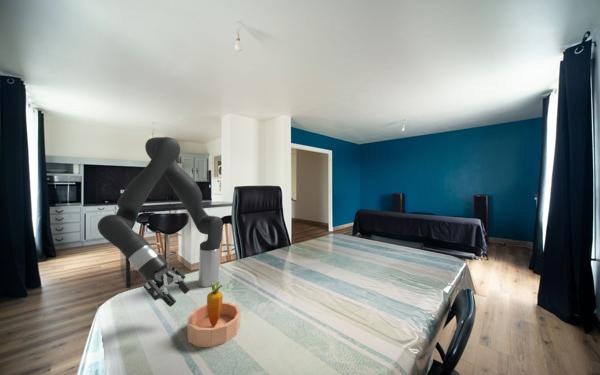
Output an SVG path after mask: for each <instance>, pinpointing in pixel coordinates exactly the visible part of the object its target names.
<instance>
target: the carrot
mask: <svg viewBox="0 0 600 375" xmlns="http://www.w3.org/2000/svg"><path fill="white" fill-rule="evenodd" d="M220 282H221V281H220V280H218V282H217V284H216V285H215V284H214V283H212V284H211V286H210V287H211V290H212V291H211V292H209V293H208V294H207V296H206V304H207V310H208V316H209V321H210V323H211V325H212V326H213V327H214V326H215V325H216V324H217V322H218V320H219V317H220V313H221V309H222V302H223V294H222V291H220V288H222V287H223V284H220ZM215 286H216V287H215Z"/></svg>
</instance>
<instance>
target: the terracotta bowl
mask: <svg viewBox="0 0 600 375" xmlns="http://www.w3.org/2000/svg"><path fill="white" fill-rule="evenodd" d="M241 312H242V311H241V310H240V308H239V306H238V305H236V304H234V303H232V302H230V301H228V302H225V301H222V309H221V313H220V317H219V320H218V322H217V324H216V325H215V326H214V327H213V326H212V325H211V323H210V321H209V316H208V310H207V303H206V304H204V305H202V306H200V307H198V308H196V309H194V310H193V311H192V312H191V313H190V314H189V315H188V317H187V326H186V327H187V328H186V329H187V332H186V336H187V337H186V338H187V342H188V343H190V344H192V345H193V346H195V347H199V348H212V347H216V346H219V345H222V344H226V343H227V342H229V341H231V339H233V338H234V337H235V336H237V334H238V332H239V330H240V327H241V314H242V313H241Z"/></svg>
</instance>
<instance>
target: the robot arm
mask: <svg viewBox="0 0 600 375" xmlns="http://www.w3.org/2000/svg"><path fill="white" fill-rule="evenodd" d="M145 152H146V154H147V156H148V157H149V158H150V161H149V162H148V164H147V165H146V167H144V168H143V170H141V172H140V173H138V175H137V176H135V177H133V179H132V180H131V181H130V182H129V183H128V185H127V186H126V187H125V189H124V190H123V192H122V193H121V195H120V197H118V200H117V202H116V206H117V207H118V209H117V212H116V214H108V215H104V216H103V217H102V218H100V219H99V221H98V223H97V230H98V232H99V234H100V235H101V236H102V237H103V238H104V239H106V240H107V241H108V242H109V243H110V244H112V245H113V246H114V247H115V248H116V249H118V250H119V251H120V252H121V253H122V254H123V256H124V257H125V258H126V259H127V260H128V261H129V262H130V264H131V266H132V267H133V268H134V270H136V272H138V273H139V275H140V276H141V277H142V278H143V279H144V281H147V282H146V283H145V284H144V285H143V288H144V290H145V291H147V294H149V296H150V297H151V298H152V300H154V301H157V300H159V299H160V300H162V301H163V302H164V303H165V304H166V305H167V306H168V307H173V306H174V304H176V303H177V300H176V299H175V297H174V296H172V295H171V293H170V292H168V287H169V285H174V286H177V288H178V289H179V290H180V291H181V292H182V293H183V294H184V295H185V294H187V293H188V292H189V291H190V290H191V288H190V287H189V285H187V283H186V282H185V279H186V275H185V274H184V273H183V272H182V271H181V270H180V269H179V268H178V267H177V266H176V265H173V266H172V267H171V268H168V265H169V263H168V261H167V260H166V259H165V258H164V257H163V256H162V255H161V254H160V253H159V252H158V250H156V248H154V247H153V246H152V245H151V244H150V243H149V242H148V241H147V240H146V239H145V238H144V237H143V236H142V235H141V234H140V233H137V232H135V231H134V230H133V228H134V226H135V225H136V222H137V219H138V217H139V214H140V210H141V209H142V207H143V205H144V204H145V202H146V200H147V198H148V196H149V195H150V194H151V192H152V191H153V189H154V187H155V186H156V184H157V183H158V182H159V180H160V179H161V178H162V176H164V178H165V179H166V180H167V182H168V184H169V185H170V186H171V188H172V190H173V191H174V193H175V195H176V196H177V198H178V199H179V200H180V202H181V204H183V206H184V208H185V209H186V211H187V213H188V214H189V216H190V217H191V220H192V221H193V224H194V226H195V227H196V229H197V231H198V233H200V234H204V235H207V237H206V240H204V241H202V242H200V243H199V256H198V257H199V258H198V259H199V260H198V261H199V262H198V263H199V264H198V279H197V280H198V281H197V282H198V283H197V285H198V286H199V287H203V288H207V287H212V286H211V284H212V283H214V284H215V286H217V282H218V281H219V274H220V254H221V253H220V250H221V243H222V241H223V228H224V221H223V220H222V218H221V217H219V216H215V215H208V214H207V212H206V211H205V209H204V208H203V193H202V191H201V189H200V187H199V185H198V184H197V182H196V181H195V180H194V178H193V177H192V176H190V174H188V173H187V172H186V171H185V170H184V169H183V168H182V167H181V166H180V165H179V164H178V162H177V161H176V160H177V159H178V158H179V157H178V156H179V155H180V153H181V146H180V143H179V142H178V140H176V139H174V138H172V137H168V136H166V137H165V136H161V137H160V136H157V137H155V136H154V137H151V138H149V139H147V141H146V142H145Z"/></svg>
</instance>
